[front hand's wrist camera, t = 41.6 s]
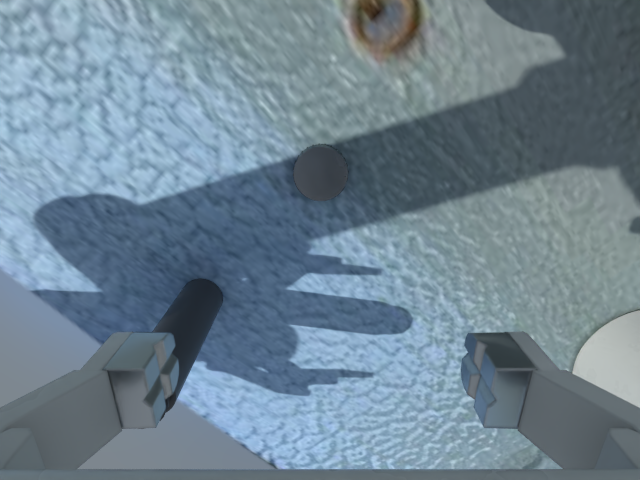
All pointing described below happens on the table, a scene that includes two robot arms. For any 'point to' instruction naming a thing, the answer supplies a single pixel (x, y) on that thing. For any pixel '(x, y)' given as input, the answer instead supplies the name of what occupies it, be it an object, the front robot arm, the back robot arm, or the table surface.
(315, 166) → the lid
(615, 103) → the table surface
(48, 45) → the table surface
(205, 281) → the dark grey cylinder
